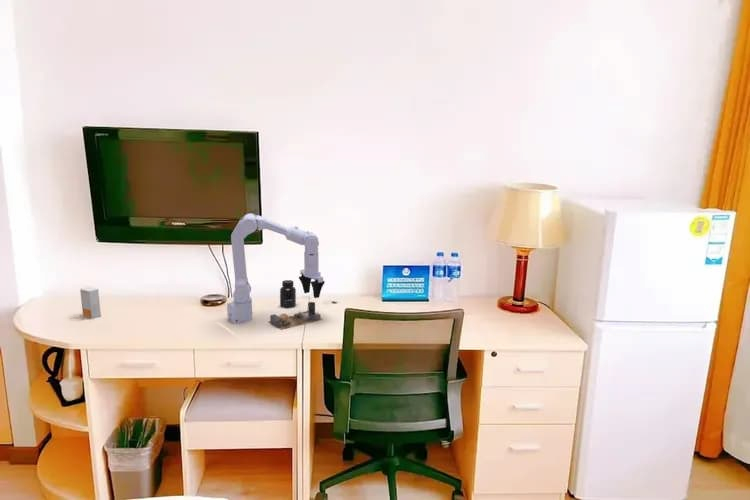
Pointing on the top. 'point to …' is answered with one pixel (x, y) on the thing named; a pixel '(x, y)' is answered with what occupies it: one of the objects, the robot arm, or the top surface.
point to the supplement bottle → (287, 294)
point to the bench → (293, 320)
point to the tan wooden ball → (284, 318)
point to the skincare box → (90, 302)
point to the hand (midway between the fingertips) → (311, 295)
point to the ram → (310, 311)
